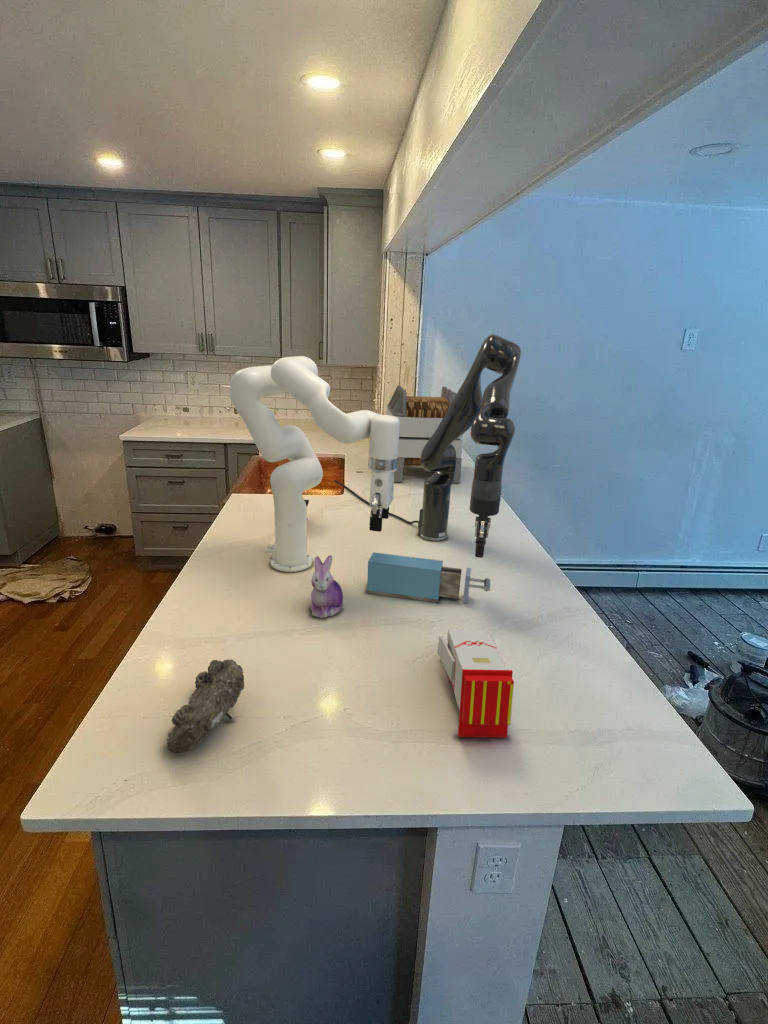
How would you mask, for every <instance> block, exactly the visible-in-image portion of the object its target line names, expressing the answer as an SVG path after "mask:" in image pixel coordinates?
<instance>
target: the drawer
mask: <svg viewBox="0 0 768 1024" xmlns="http://www.w3.org/2000/svg"><path fill="white" fill-rule="evenodd" d="M462 571H463V570H462V568H459V567H450V566H442V569H441V575H440V586H439V597H441V598H442V597H443V598H449V599H458V600H459V598H460V597H459V596H460V590H461V581H462ZM471 573H472V568H471V567H466V571H465V579H464V587H463V588H464V589H463V597H462V598H463V599H462V602H463V603H468V601H469V595H470V594H469V593H470V588H473V589H482V590H483V591H484V592H486V593H487V592H490V591H491V579H490V578H487V577H486V578H484V579H479V578H474V577H473V578H472V577H471ZM470 582H475V583H482V584H483V585H477V584H471V583H470Z"/></svg>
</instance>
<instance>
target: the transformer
mask: <svg viewBox="0 0 768 1024" xmlns="http://www.w3.org/2000/svg"><path fill="white" fill-rule="evenodd" d="M440 393H441V394H440V396H415V395H414V396H413V395H412V396H411V395H407V394H408V393H407V390H406V389H404V388H403V387H402V385H399V384H398V385H397V386H396V388H395V390H394V392H393V394H392V395H391V398H390V400H389V402H388V404H387V405H386V413H385V415H390V416H394V417H397V418H398V419H399V421H400V432H399V446H398V460H397V470H396V471H394V483H402V482H403V475H404V469H405V466H406V467H407V466H411V467H412V466H413V467H415V466H416V467H417V466H418V467H422V466H421V462H420V457H421V453H422V450H423V448H424V446H425V445H426V443H427V442H428V441H429V439H430V438H431V437H432V435H433V434H434V432H435V431H436V429H437V428H438V426H439V424H440V423H441V421H442V419H443V418H444V416H445V414H446V412H447V410H448V408H449V406H450V404H451V403H452V401H453V399H454V397H455V396H456V394H457V392H455V391H453V390H452V389H451V388H447V386H442V387H441V392H440ZM463 438H464V434H462V435H461V436H460V437H458V438H457V439H456V440H454V441H453V442H452V443H451V444H452V445H453V446H454V448H455V450H456V457H457V459H456V468H455V475H454V481H453V484H455V483H456V484H459V483H461V472H462V461H463V460H462V453H463V442H464V441H463V440H462V439H463Z"/></svg>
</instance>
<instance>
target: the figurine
mask: <svg viewBox="0 0 768 1024" xmlns="http://www.w3.org/2000/svg"><path fill="white" fill-rule="evenodd" d="M332 563H333V555H331V554H330V555H328V556H326V558H325V560H324V562H322V560H321V558H320V556H318V555H316V556H315V557H314V572H313V574H312V575H311V581H310V582H311V585H312V587H313V589H312V590H311V593H310V600H311V606H310V609H311V615H312V616H313V617H316V618H327V617H331V616H335V615H336V614H338V613H339V612H340V611H341V610H342V608H343V601H344V594H343V590H342V587H341V585H340V583H339V582H338V581H336V580H335V579H334V576H333V574H332V573H331V568H332Z"/></svg>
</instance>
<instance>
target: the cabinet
mask: <svg viewBox="0 0 768 1024" xmlns="http://www.w3.org/2000/svg"><path fill="white" fill-rule="evenodd" d="M443 565H444V560H441V559H430V558H423V557H414V556H406V555H399V554H391V553H383V552H382V553H381V552H375V551H374V552H372V554H371V555H370V557H369V559H368V561H367V583H366V594H371V595H379V596H386V597H394V598H400V599H401V598H402V599H408V600H416V601H424V602H431V603H439V600H440V596H439V586H440V575H441V569H442V567H444V566H443Z"/></svg>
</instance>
